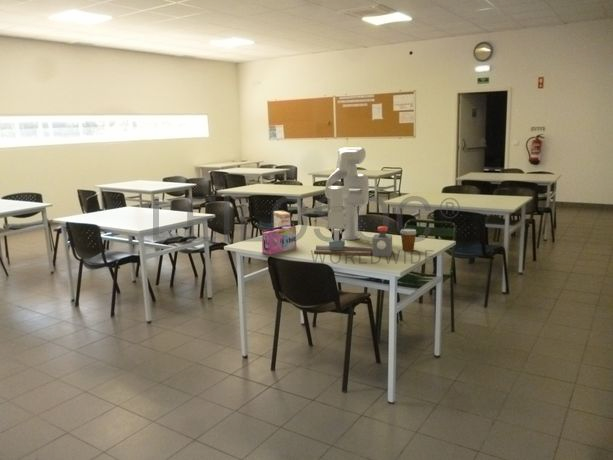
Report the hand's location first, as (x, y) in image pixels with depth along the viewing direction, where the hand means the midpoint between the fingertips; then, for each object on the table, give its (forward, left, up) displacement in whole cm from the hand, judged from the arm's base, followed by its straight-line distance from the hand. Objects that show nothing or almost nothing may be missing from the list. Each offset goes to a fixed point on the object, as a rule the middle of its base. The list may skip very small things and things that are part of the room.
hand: (337, 239), depth 300 cm
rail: (0, +4, -8) cm, 9 cm away
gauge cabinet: (0, +26, -8) cm, 28 cm away
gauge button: (0, +26, -1) cm, 27 cm away
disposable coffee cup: (-12, +40, -8) cm, 43 cm away
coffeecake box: (-24, -40, -8) cm, 48 cm away
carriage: (0, 0, -6) cm, 6 cm away
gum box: (+1, -35, -8) cm, 36 cm away
